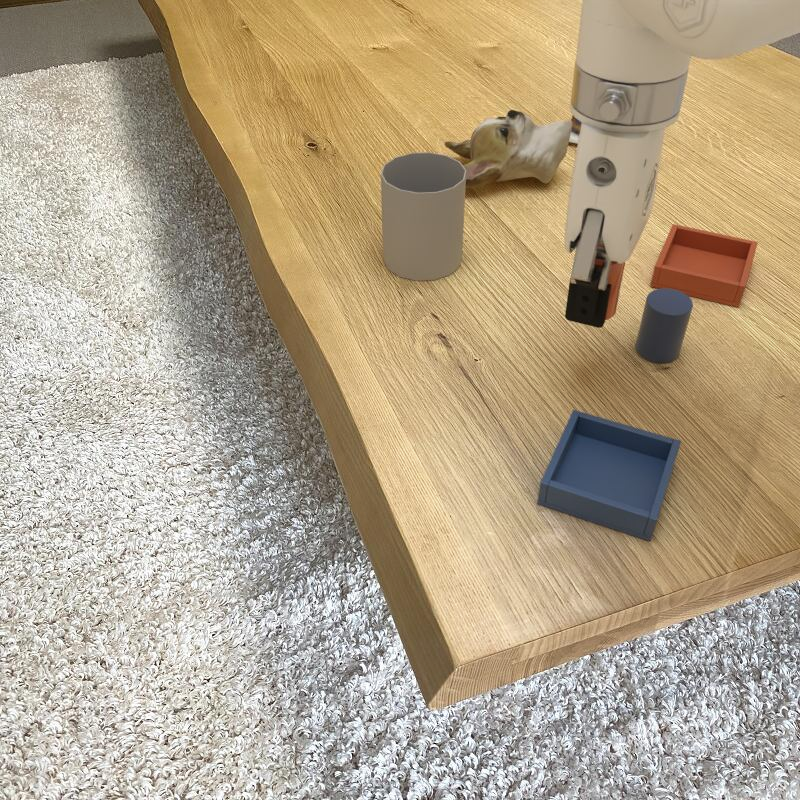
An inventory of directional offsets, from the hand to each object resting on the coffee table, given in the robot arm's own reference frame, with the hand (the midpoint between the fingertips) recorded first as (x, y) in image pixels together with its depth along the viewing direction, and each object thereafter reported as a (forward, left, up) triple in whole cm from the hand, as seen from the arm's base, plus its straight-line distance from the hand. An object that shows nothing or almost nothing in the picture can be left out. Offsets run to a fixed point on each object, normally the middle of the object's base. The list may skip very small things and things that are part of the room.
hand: (592, 304), depth 70 cm
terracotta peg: (0, 0, 0) cm, 0 cm away
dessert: (+12, -46, -8) cm, 49 cm away
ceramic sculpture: (+18, -31, -8) cm, 37 cm away
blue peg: (-6, -6, -8) cm, 11 cm away
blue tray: (-6, +12, -8) cm, 15 cm away
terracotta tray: (-7, -20, -8) cm, 23 cm away
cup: (+20, -11, -8) cm, 25 cm away
